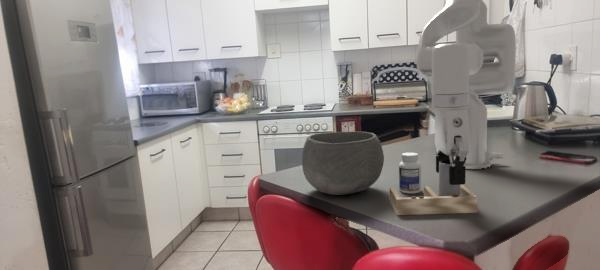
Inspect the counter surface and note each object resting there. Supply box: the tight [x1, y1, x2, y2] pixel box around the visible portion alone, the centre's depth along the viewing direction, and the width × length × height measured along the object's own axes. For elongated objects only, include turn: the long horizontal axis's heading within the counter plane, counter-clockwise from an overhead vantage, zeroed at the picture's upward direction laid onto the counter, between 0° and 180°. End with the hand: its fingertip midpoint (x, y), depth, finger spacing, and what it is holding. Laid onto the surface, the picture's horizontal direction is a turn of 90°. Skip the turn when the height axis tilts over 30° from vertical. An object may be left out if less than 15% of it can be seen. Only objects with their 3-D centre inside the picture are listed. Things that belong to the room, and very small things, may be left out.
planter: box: [438, 159, 461, 196], centre depth 89 cm, size 4×4×10 cm
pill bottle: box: [398, 152, 422, 195], centre depth 102 cm, size 5×5×10 cm
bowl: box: [301, 131, 385, 196], centre depth 103 cm, size 21×21×15 cm
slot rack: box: [389, 184, 479, 216], centre depth 90 cm, size 17×9×4 cm, turn 87°
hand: (449, 177), depth 89 cm, fingers open, 9 cm apart
